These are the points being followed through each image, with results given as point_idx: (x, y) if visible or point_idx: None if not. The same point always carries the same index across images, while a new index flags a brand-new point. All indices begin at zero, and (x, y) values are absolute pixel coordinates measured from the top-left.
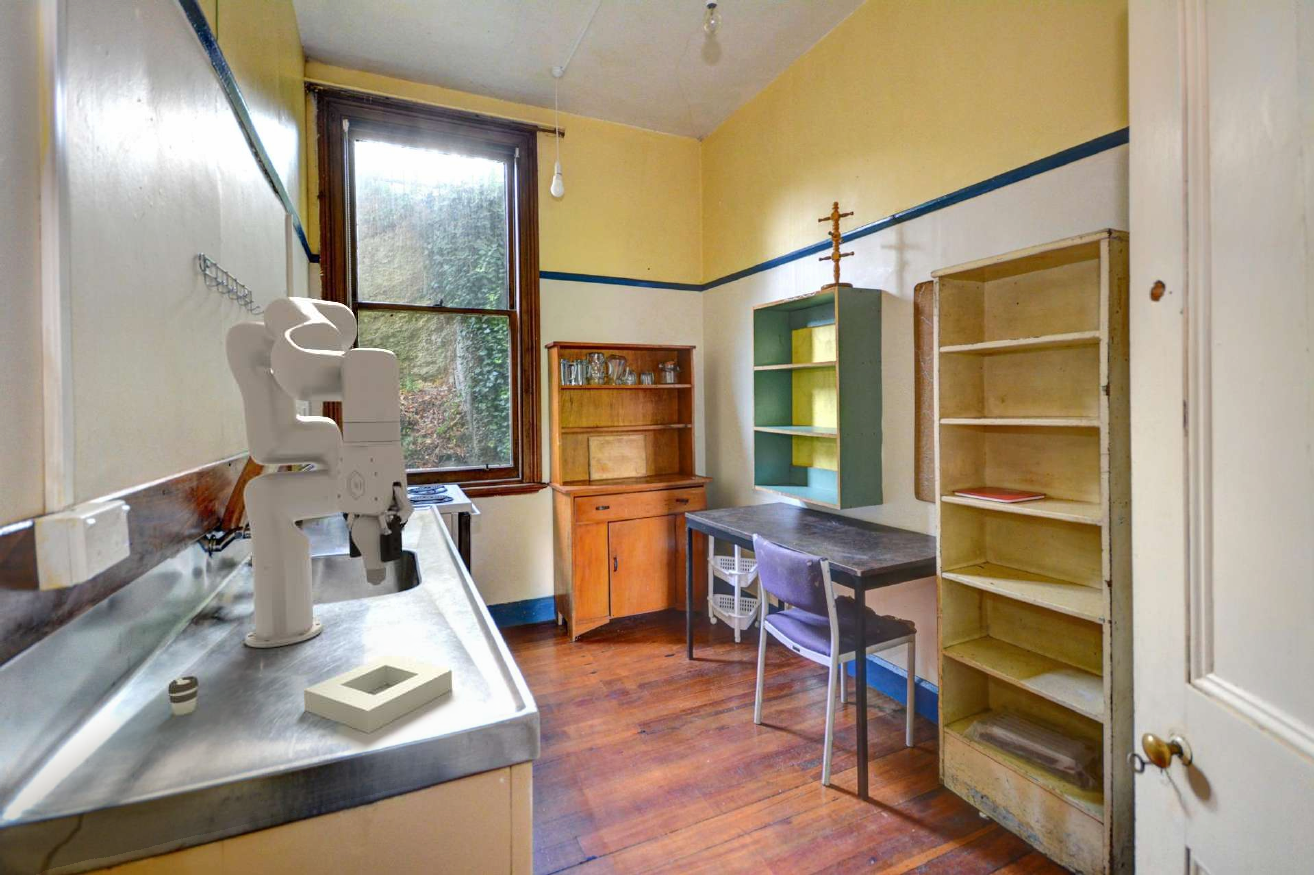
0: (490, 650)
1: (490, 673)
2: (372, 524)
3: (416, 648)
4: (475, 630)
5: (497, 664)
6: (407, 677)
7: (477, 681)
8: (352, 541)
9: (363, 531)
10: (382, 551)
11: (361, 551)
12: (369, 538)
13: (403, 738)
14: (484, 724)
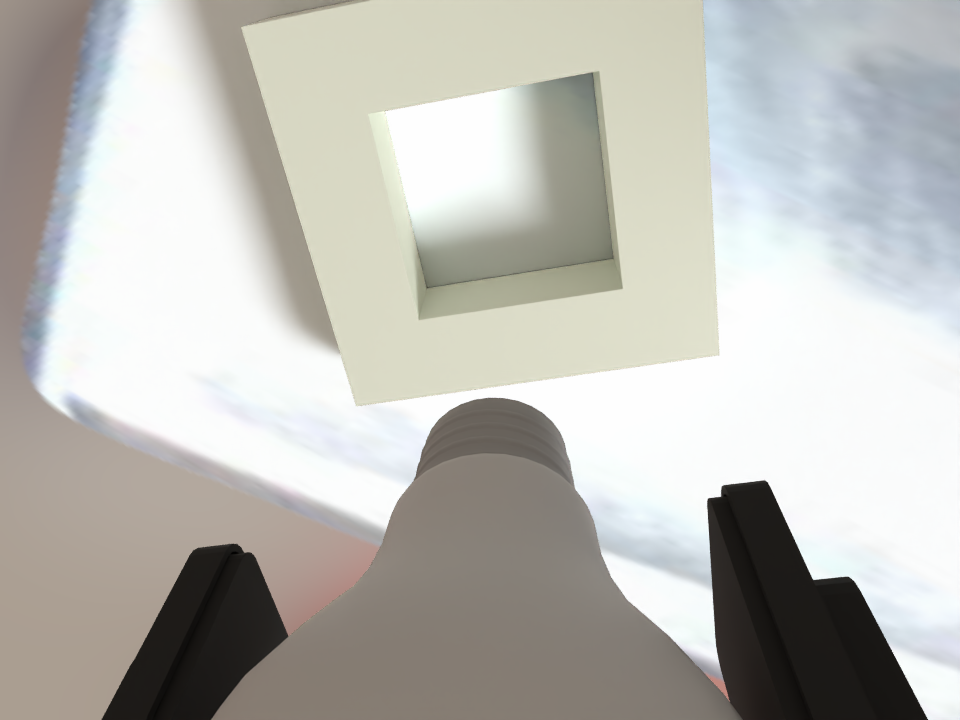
0: None
1: (380, 497)
2: None
3: (815, 480)
4: None
5: None
6: (487, 298)
7: (358, 444)
8: (772, 636)
9: None
10: (155, 630)
11: (475, 545)
12: (219, 713)
13: (143, 82)
14: (55, 294)
